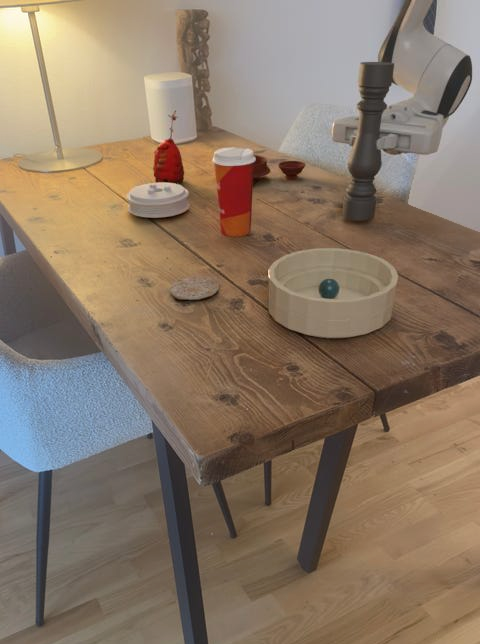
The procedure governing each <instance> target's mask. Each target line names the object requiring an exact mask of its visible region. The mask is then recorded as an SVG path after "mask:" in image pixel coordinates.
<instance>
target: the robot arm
mask: <svg viewBox="0 0 480 644" xmlns="http://www.w3.org/2000/svg"><path fill="white" fill-rule="evenodd" d="M433 2H434V0H403V2H402V4H401V7H400V9H399V12H398V14H397V15H396V18H395V20H394V22H393V24H392V26H391V28H390V30H389V32H388V33H387V34H386V37H385V38H384V40H383V42H382V44H381V46H380V49H379V51H378V54H377V62H389V63H394V70H393V78H392V84H394V85H396V86H399V87H401V88H402V89H404V90H406V91H407V92H409V93H411V94H412V95H413V96H412V97H410V98H408V99H406V100H401V101H399V102H396V103H393V104H390V105H387V108H386V110H384V111H383V113H382V118H381V125H380V138H378V139H376V149H377V150H381V151H383V152H384V153H386V154H389V155H393V156H396V155H401V154H415V155H423V156H428V155H431V154H435V153H437V152H438V150H439V147H440V143H441V139H442V135H443V128H444V127H445V126H446V124H447V123H448V120H449V118H450V116H452V115H453V114H454V113H455V112H456V111H457V110H458V108H460V105H461V104H462V102H463V101H464V100H465V97H466V95H467V94H468V91H469V90H470V87H471V84H472V81H473V61H472V58H471V56H470V55H469V54H467V53H466V52H464V51H462V49H461V50H460V49H459V48H457V47H456V46H454V45H452V44H450V43H448V42H446V41H444V40H443V39H441V38H439V37H437V36H436V35H434V34H432V33H431V32H430V31H428V29H426V27H425V25H424V20H425V17H426V16H427V14H428V11H429V10H430V8H431V6H432V4H433ZM358 124H359V116H356V115H355V116H347V117H342V118H339V119H335V120H333V122H332V125H331V140H332V142H334V143H340V144H346V145H349V147H353V144H354V141H355V138H356V135H357V132H358Z"/></svg>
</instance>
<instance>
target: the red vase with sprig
mask: <svg viewBox="0 0 480 644" xmlns="http://www.w3.org/2000/svg"><path fill="white" fill-rule="evenodd" d="M176 112H177V110H174V111H173V114H171V115H170V114H168V115H167V116H168V117H170V118H171V125H170V126H171V127H169V130H170V136H169V138H168V139H164V141H162V142H161V143H160V144H158V145H157V147H156V150H155V151H153V155H154V158H153V167H152V169H153V170H152V171H153V177H154V181H155V182H154V183H159V182H165V183H174V184H175V183H177V184H179V183H181V182H183V181H184V178H185V177H184V176H185V168H184V165H183V160H182V159H183V158H182V155H181V152H180V149H179V147H178V146H177V145H176V143H175V140H174V139H173V138H172V136H173V135H172V134H173V132H174V129H173V123H174V121H176V120H177V119H178V118H179V116H176Z"/></svg>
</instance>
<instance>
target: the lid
mask: <svg viewBox="0 0 480 644" xmlns="http://www.w3.org/2000/svg"><path fill="white" fill-rule="evenodd" d="M189 195H190V194H189V190H187V188H185V187H184V186H183V185H181V184H179V183H177V184H174V183H165V182H159V183H157V182H149V183H143V184H140V185H139V184H138V185H137V186H134V187H133V188H131V189H130V191H129V192H127V194H126V195H125V196H126V200H127V201H128V206H127V210H128V213H130V214H132V215H134V216H136V217H141V218H150V219H151V218H153V219H155V218H156V219H157V218H159V219H160V218H167V217H174V216H177V215H180V214H182V213H185V212H186V211H188V210H189V209H190V206H191V205H190V202H189Z"/></svg>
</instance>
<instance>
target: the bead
mask: <svg viewBox="0 0 480 644" xmlns="http://www.w3.org/2000/svg"><path fill="white" fill-rule="evenodd" d="M338 293H339V284H338V283H337V281H335V280H334V279H330V278H329V279H325V280H323V281H322V282H321V283H320V285H319V294H320V296H321V297H322V298H326V299H333V298H335V297H336V296H337V295H338Z"/></svg>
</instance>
